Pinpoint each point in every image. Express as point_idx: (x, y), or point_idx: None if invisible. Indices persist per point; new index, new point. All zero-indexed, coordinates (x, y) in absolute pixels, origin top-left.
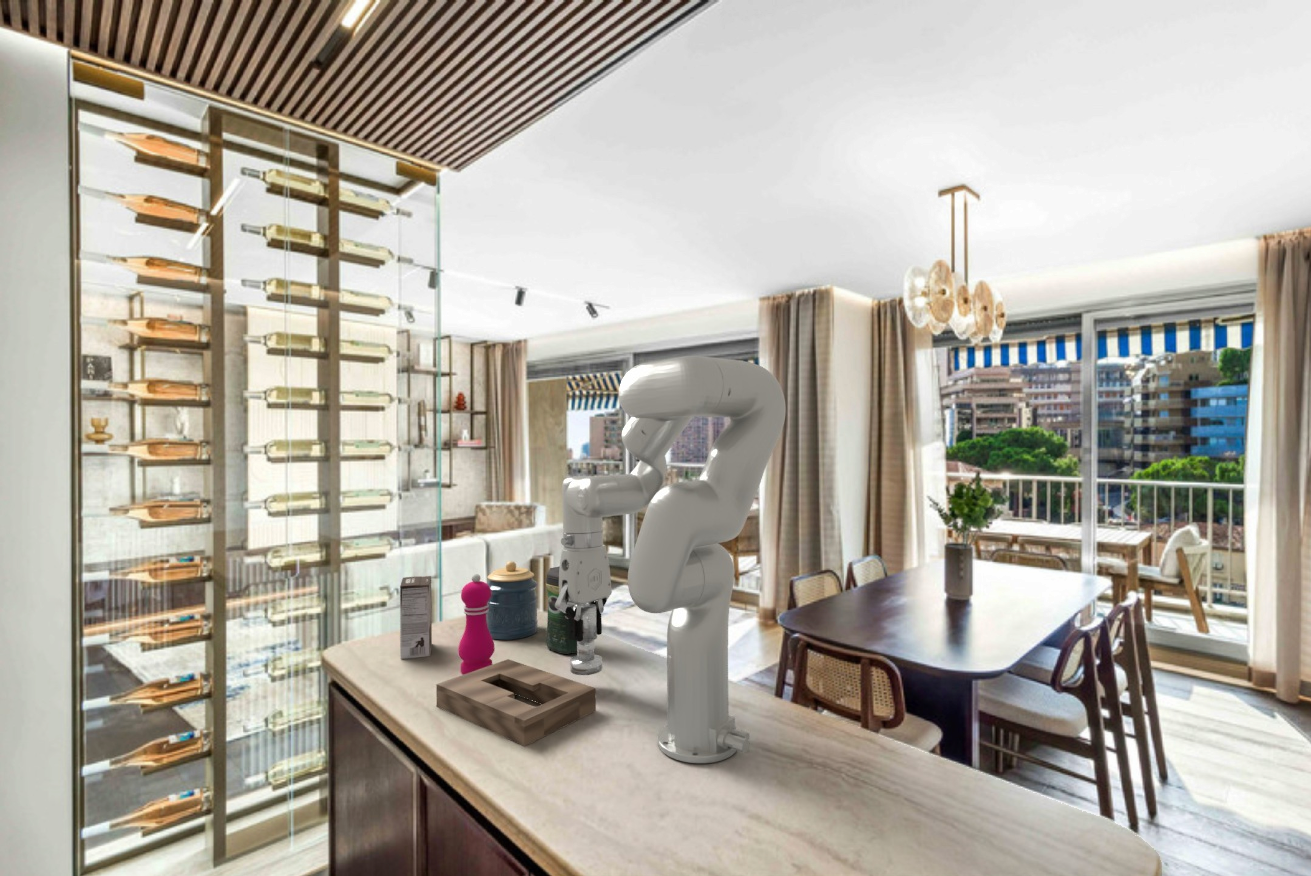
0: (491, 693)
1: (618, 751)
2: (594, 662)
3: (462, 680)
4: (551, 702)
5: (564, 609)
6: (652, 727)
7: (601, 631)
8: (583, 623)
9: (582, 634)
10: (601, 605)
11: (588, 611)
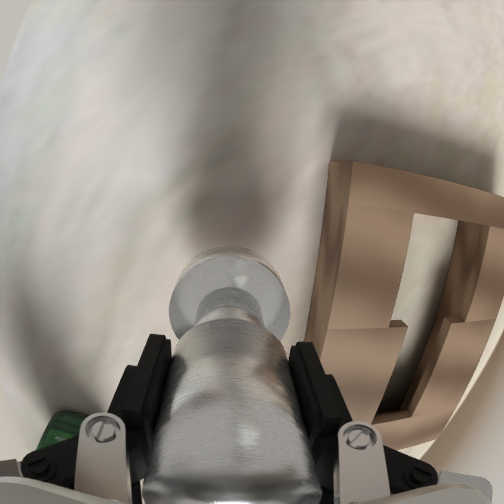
0: (459, 353)
1: (431, 32)
2: (245, 264)
3: (417, 432)
4: (466, 211)
5: (451, 478)
6: (321, 4)
7: (149, 338)
8: (294, 404)
9: (304, 358)
10: (94, 453)
11: (283, 451)
